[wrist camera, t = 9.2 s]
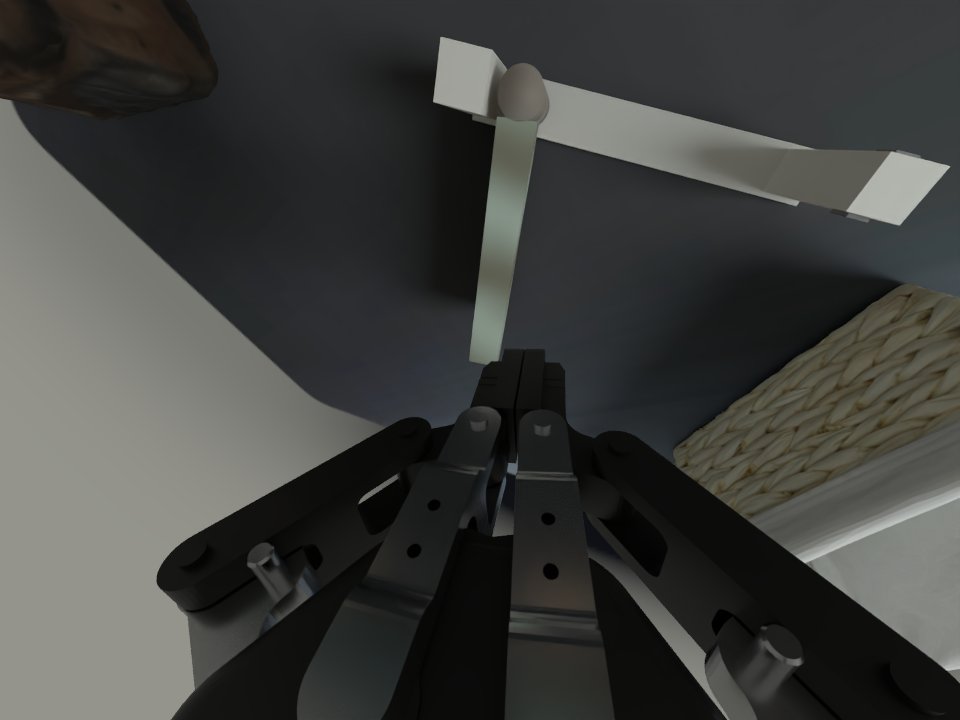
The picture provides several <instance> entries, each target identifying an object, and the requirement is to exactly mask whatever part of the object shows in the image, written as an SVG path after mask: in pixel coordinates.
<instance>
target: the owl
mask: <svg viewBox="0 0 960 720" xmlns="http://www.w3.org/2000/svg"><path fill="white" fill-rule="evenodd" d="M217 80H218V69H217V66H216V63H215V61H214V59H213V57H212V55H211V53H210V48H209V45H208V42H207V41H206V39H205V37H204V34H203V32H202V31H201V28H200V26H199V24H198V20H197V16H196V15H195V13H194V12H193V11H192V9H191V7H190V5H189V4H188V3H187V2H186V0H0V98H2V99H7V100H13V101H17V102H22V103H27V104H31V105H35V106H41V107H46V108H51V109H57V110H61V111H67V112H72V113H76V114H79V115H84V116H88V117H92V118H96V119H101V120H104V119H108V118H110V117H115V118H118V119H122V118H124V117H126V116H130V115H134V114H136V113H139V112H149V111H153V110H155V109H156V108H158V107H163V106H177V105H178V104H179V103H180V102H182V101H190V100H193V99H203V98H205V97H208V96H209V94H210V93H211V91H212V90H213V88H214V87H215V86H216V84H217Z"/></svg>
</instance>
